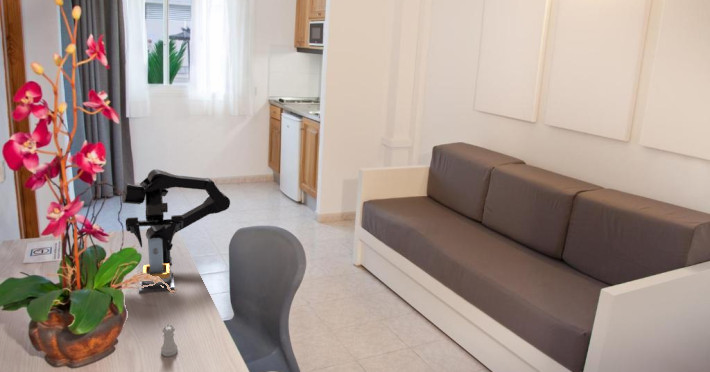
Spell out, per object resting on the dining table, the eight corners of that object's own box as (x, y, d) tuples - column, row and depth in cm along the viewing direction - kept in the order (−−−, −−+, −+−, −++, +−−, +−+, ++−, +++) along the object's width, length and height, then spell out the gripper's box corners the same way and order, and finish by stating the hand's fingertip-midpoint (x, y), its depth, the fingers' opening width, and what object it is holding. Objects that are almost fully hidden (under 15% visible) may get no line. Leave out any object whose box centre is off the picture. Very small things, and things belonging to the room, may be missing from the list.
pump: (149, 271, 195) (148, 238, 192) (163, 269, 197) (162, 237, 193) (149, 279, 190) (147, 245, 186) (163, 277, 191) (162, 244, 188)
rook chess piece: (177, 356, 156) (176, 330, 154) (160, 357, 155) (158, 331, 153) (178, 347, 160) (177, 322, 158) (161, 348, 159) (160, 323, 157)
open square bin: (140, 278, 198) (139, 263, 197) (173, 275, 202) (172, 261, 200) (139, 293, 188) (138, 277, 187) (174, 289, 192) (173, 275, 190)
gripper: (124, 195, 192) (125, 238, 185) (182, 193, 198) (185, 234, 191) (126, 209, 201) (126, 251, 195) (181, 207, 208) (184, 247, 201)
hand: (155, 245), depth 195 cm, fingers open, 9 cm apart
